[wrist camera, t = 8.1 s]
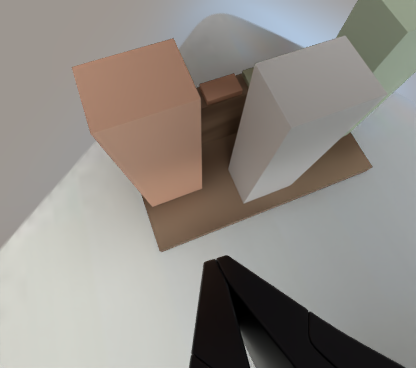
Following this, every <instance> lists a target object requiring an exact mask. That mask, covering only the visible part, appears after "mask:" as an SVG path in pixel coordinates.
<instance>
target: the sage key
mask: <svg viewBox="0 0 416 368" xmlns="http://www.w3.org/2000/svg"><path fill="white" fill-rule="evenodd" d="M342 36H346V37H347V38H348V40H349V41H350V42H351V44H352V45H353V47H354V48H355V49H356V51H357V52H358V54H359V55H360V56H361V58H362V59H363V60H364V62H365V63H366V65H367V66H368V67H369V69H370V70H371V72H372V73H373V74H374V76H375V77H376V78H377V80H378V81H379V83H380V84H381V85H382V87H383V88H384V89H385V91H386V92H387V95H386V96H385V97H384V98H383V99H382V100H381V101H380V102H379V103H378V104H377V105H376V106H375V107H373V108H372V109H371V110H370V111H369V112H368V113H367V114H366V115H365V116H364V117H363V118H362V119H361V120H360V121H359V122H358V123H356V124H355V125H354V126H353V127H352V128H351V129H350V130H349V131H348V132H347V133H346V134H345V135H344V136H346V135H348V134H349V133H350V132H351V131H352V130H353V129H354V128H355V127H356V126H357V125H358V124H360V123H361V122H362V121H363V120H364V119H365V118H366V117H367V116H368V115H369V114H370V113H371V112H373V111H374V110H375V109H376V108H377V107H378V106H379V105H380V104H381V103H382V102H383V101H385V100H386V99H387V98H388V97H389V96H390V95H391V94H392V93H393V92H394V91H395V90H396V89H398V88H399V87H400V86H401V85H402V84H403V83H404V82H405V81H406V80H407V79H408V78H409V77H411V76H412V75H413V74H414V73H415V72H416V0H358V1H357V3H356V4H355V6H354V8H353V10H352V11H351V13H350V15H349V16H348V18H347V20H346V22H345V23H344V25H343V27H342V29H341V30H340V32H339V34H338V36H337V37H336V38H338V37H342Z"/></svg>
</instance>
